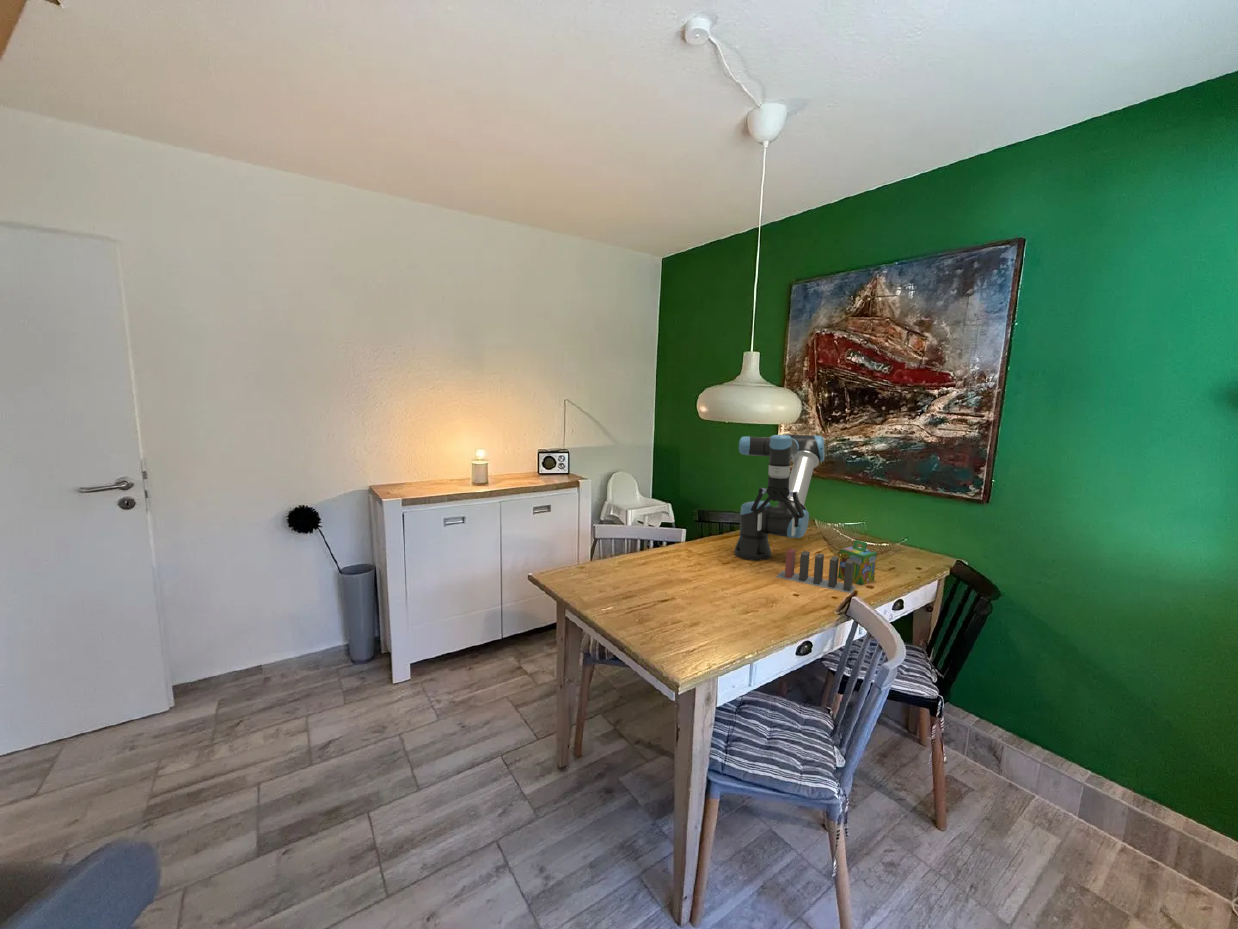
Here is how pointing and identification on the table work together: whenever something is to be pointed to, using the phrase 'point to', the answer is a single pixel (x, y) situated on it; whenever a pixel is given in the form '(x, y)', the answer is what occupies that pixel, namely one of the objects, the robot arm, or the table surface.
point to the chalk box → (859, 563)
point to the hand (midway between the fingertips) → (775, 532)
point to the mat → (810, 581)
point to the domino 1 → (790, 563)
